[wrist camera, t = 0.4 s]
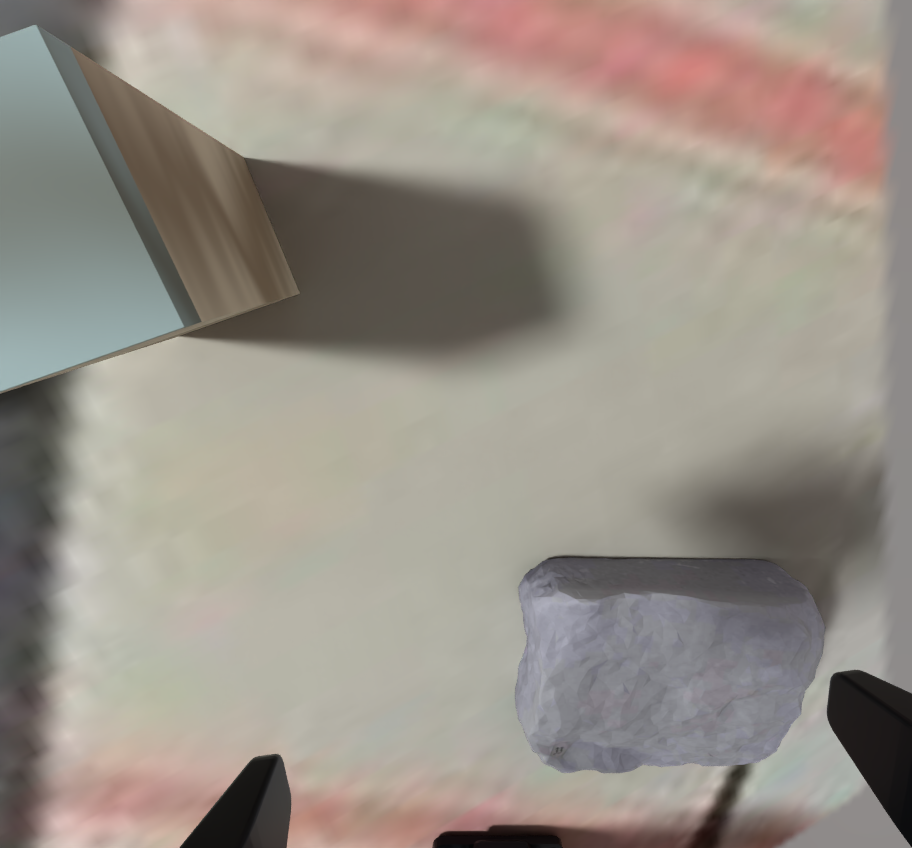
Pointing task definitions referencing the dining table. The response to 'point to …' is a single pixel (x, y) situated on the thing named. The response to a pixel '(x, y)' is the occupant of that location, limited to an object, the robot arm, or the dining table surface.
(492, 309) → the dining table surface
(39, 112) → the beech block
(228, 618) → the dining table surface
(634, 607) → the stone block
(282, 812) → the robot arm
